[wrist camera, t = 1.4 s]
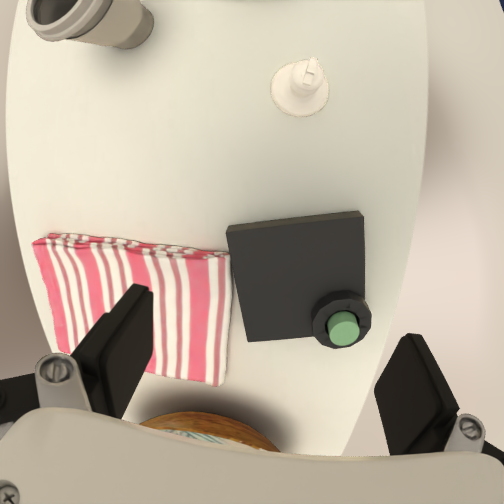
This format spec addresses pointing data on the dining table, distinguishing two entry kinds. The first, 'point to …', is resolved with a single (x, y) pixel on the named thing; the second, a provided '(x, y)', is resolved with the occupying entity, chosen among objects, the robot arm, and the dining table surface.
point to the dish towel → (159, 282)
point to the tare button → (343, 328)
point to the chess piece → (300, 88)
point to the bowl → (211, 429)
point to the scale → (300, 275)
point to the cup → (91, 21)
